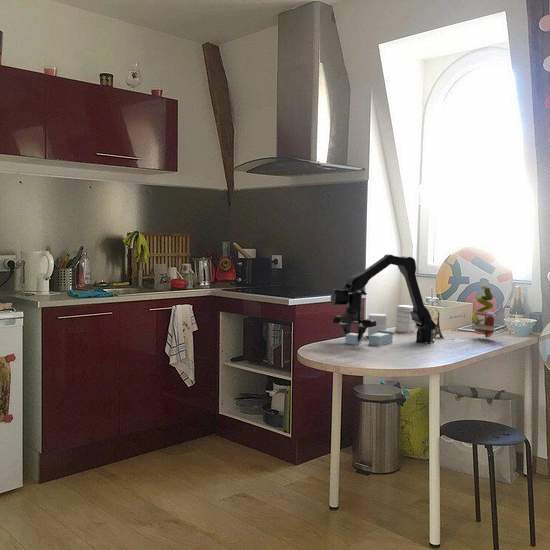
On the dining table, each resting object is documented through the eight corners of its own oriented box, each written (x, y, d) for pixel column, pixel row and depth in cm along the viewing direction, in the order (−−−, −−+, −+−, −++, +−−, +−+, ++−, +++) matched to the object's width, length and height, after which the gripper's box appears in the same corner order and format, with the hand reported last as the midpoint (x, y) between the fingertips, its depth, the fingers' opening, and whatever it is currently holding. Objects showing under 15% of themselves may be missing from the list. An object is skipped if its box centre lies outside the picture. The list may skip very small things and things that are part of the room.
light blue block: (361, 343, 277) (361, 334, 276) (355, 344, 273) (356, 335, 272) (351, 341, 280) (351, 332, 279) (345, 343, 275) (345, 333, 275)
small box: (384, 336, 298) (386, 314, 297) (385, 338, 292) (386, 315, 291) (367, 335, 299) (368, 313, 298) (368, 337, 293) (369, 314, 292)
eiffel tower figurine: (416, 337, 301) (418, 309, 300) (428, 335, 308) (429, 308, 307) (444, 342, 290) (446, 313, 289) (456, 340, 297) (457, 311, 296)
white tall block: (401, 329, 321) (402, 304, 320) (415, 331, 317) (416, 306, 316) (394, 331, 315) (396, 305, 314) (409, 332, 311) (410, 307, 310)
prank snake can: (465, 336, 304) (468, 284, 303) (482, 336, 308) (485, 284, 306) (482, 341, 294) (485, 287, 292) (499, 340, 298) (502, 287, 296)
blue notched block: (394, 342, 282) (395, 331, 282) (381, 346, 271) (382, 335, 271) (379, 340, 286) (380, 329, 286) (366, 344, 276) (366, 332, 275)
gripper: (326, 304, 274) (325, 340, 275) (365, 308, 263) (363, 346, 264) (339, 302, 283) (338, 337, 284) (377, 306, 272) (376, 342, 273)
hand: (353, 341), depth 276 cm, fingers closed on light blue block, 5 cm apart
